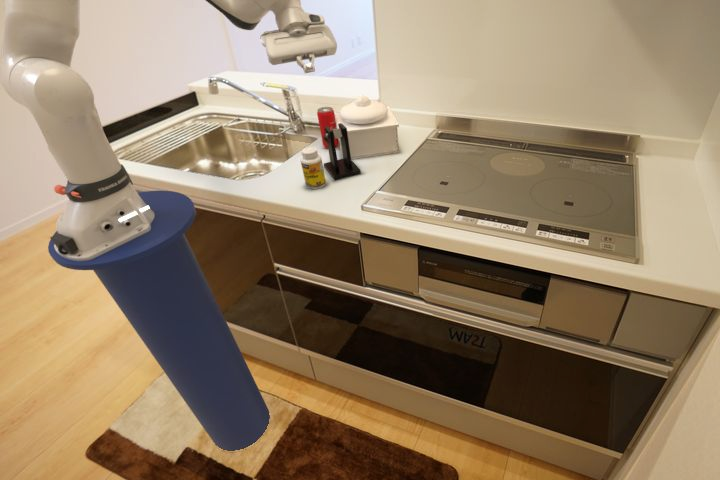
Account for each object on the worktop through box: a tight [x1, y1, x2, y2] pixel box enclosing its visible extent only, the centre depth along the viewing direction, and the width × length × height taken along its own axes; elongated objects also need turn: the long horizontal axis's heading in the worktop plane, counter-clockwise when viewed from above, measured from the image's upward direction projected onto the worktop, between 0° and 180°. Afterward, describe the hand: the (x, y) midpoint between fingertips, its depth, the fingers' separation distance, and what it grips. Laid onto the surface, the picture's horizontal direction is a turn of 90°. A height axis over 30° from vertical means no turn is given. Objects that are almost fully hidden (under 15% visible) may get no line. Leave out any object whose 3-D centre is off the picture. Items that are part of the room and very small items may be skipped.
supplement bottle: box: [300, 146, 327, 190], centre depth 111 cm, size 6×6×10 cm
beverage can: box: [316, 106, 340, 150], centre depth 131 cm, size 5×5×12 cm
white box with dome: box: [334, 94, 400, 160], centre depth 128 cm, size 18×18×16 cm
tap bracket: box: [323, 123, 362, 181], centre depth 117 cm, size 10×8×13 cm
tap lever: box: [324, 128, 342, 143], centre depth 118 cm, size 13×3×3 cm, turn 26°
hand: (309, 71), depth 119 cm, fingers closed
